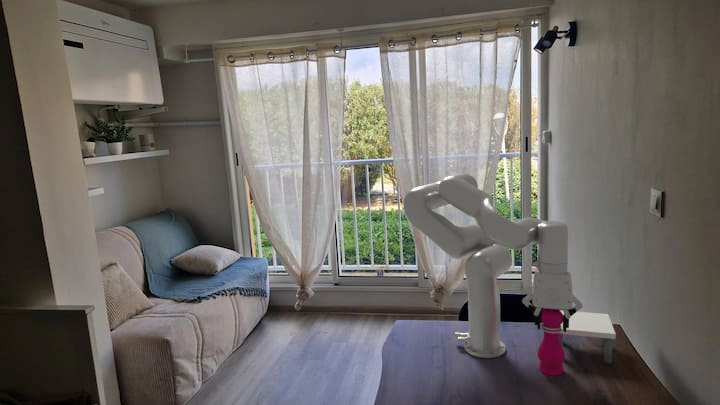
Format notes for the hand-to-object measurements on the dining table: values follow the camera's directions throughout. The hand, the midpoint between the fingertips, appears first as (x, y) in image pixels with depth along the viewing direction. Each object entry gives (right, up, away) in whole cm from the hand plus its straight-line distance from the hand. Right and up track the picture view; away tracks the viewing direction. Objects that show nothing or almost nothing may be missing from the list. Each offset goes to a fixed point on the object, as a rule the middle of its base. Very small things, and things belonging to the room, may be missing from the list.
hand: (551, 328), depth 128 cm
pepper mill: (+1, -13, +2) cm, 13 cm away
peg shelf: (+14, -10, +12) cm, 21 cm away
